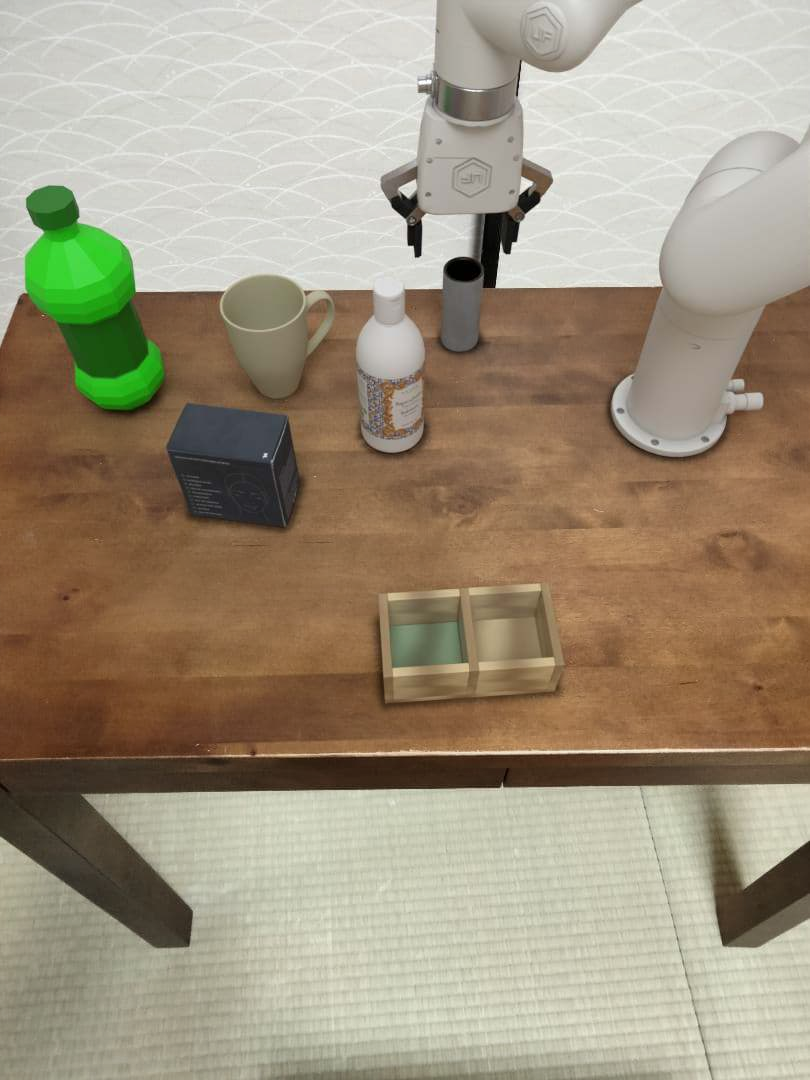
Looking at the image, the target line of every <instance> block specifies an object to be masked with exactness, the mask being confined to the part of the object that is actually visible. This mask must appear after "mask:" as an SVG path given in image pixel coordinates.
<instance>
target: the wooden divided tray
mask: <svg viewBox="0 0 810 1080" xmlns="http://www.w3.org/2000/svg"><path fill="white" fill-rule="evenodd" d="M550 588H551V587H550V583H549V582H541V583H540V582H538V583H522V584H508V585H507V584H506V585H491V586H476V587H463V588H462V587H461V588H447V589H446V588H445V589H433V590H431V589H430V590H416V591H401V592H386V593H382V592H381V593H377V600H378V612H379V614H378V616H379V631H380V646H381V647H380V649H381V662H382V663H381V664H382V665H381V666H382V679H383V693H384V703H385V704H396V703H412V702H425V701H426V702H427V701H437V700H438V701H439V700H441V701H442V700H454V699H467V698H481V697H482V698H483V697H496V696H509V695H510V696H512V695H525V694H527V695H528V694H538V693H540V694H541V693H553V692H556V689H557V686H558V684H559V681H560V679H561V675H562V673H563V670H564V668H565V659H564V655H563V649H562V644H561V643H562V642H561V639H560V634H559V629H558V623H557V618H556V614H555V608H554V603H553V602H554V601H553V599H552V593H551V589H550Z"/></svg>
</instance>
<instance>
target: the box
mask: <svg viewBox="0 0 810 1080" xmlns="http://www.w3.org/2000/svg"><path fill="white" fill-rule="evenodd" d="M289 420H290V419H289V415H287V414H281V413H280V414H279V413H273V412H265V411H256V410H250V409H249V410H248V409H240V408H232V407H226V406H225V407H223V406H216V405H207V404H199V403H192V402H191V403H190V402H186V403H185V405H184V407H183V409H182V410H181V413H180V415H179V417H178V419H177V422H176V424H175V426H174V427H173V430H172V433H171V435H170V436H169V439H168V441H167V443H166V446H165V449H166V452H167V454H168V457H169V460H170V462H171V463H170V464H171V465H172V468H173V471H174V473H175V476H176V479H177V482H178V484H179V487H180V489H181V492H182V494H183V498H184V501H185V503H186V506H187V508H188V512H189V513H190V516H194V517H195V516H196V517H204V518H212V519H221V520H226V521H227V520H229V521H234V522H240V523H241V522H242V523H247V524H256V525H263V526H271V527H277V528H286V527H287V525H288V523H289V519H290V518H291V515H292V512H293V508H294V505H295V503H296V499H297V496H298V492H299V487H300V484H301V479H300V474H299V469H298V463H297V459H296V453H295V448H294V442H293V439H292V438H293V436H292V431H291V424H290V421H289Z"/></svg>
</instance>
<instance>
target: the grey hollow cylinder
mask: <svg viewBox="0 0 810 1080" xmlns="http://www.w3.org/2000/svg"><path fill="white" fill-rule="evenodd" d="M442 268H443V270H442V291H441V315H440V319H441V320H440V342H441V344H442V346H444V347H445V349H448V350H449V351H453V352H457V353H459V352H460V353H461V352H468V351H470V350H471V349H474V347H475V346H476V345H477V343H478V341H479V332H480V331H479V330H480V320H481V310H482V298H483V288H484V277H485V268H484V266H483V264H482V263H481V262H480V261H479V260H477V259H476V258H473V257H470V256H456V257H453V258H451V259H449V260H448V261H446V263H445V264H444V265H443V267H442Z"/></svg>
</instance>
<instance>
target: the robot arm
mask: <svg viewBox="0 0 810 1080" xmlns="http://www.w3.org/2000/svg"><path fill="white" fill-rule="evenodd" d="M642 1H643V2H644V0H436V11H435V12H436V13H435V34H434V35H435V37H434V61H433V62H432V70H430V72H429V74H425V75H424V76H419V75H418V76H417V80H416V83H417V87H416V88H417V94H425V95H427V98H426V100H425V104H424V108H423V112H422V116H421V121H420V128H419V133H418V141H417V151H416V158H414V159H412V160H411V161H409V162H407V163H404V164H403V165H401V166H399V167H396V168H395V169H393V170H391V171H388V172H387V173H385V174H383V175H382V176H381V177H380V179H379V181H380V188H381V189H380V190H381V191H382V192H383V194H384V196H385V197H386V199H387V201H388V202H389V203H390V206H391V208H392V209H393V210H394V211H395V212H396V213H397V214H398V215H399V216H400V217H402V218H403V219H404V220H405V222H406V243H407V247H413V254H414V258H415V259H418V258H419V259H420V257H422V255H423V252H422V251H423V221H422V218H424V217H425V215H426V214H427V215H433V216H452V215H453V216H454V215H455V216H456V215H457V216H458V215H480V214H481V215H483V214H500V213H501V214H502V218H501V219H502V220H501V227H500V234H499V239H500V244H501V247H502V248H501V249H502V252H503V254H505V255H507V256H508V255H511V253H512V248H513V243H517V242H518V238H519V233H520V232H519V231H520V224H521V222H523V221H524V220H525V218H526V215H527V214H528V213H529V212H530V211H531V210H533V209H534V208H535V207H537V206H538V205H539V204H541V200H542V198H543V196H545V195H546V193H547V191H548V190H549V189H550V187H551V186H552V185H553V183H554V178H553V175H552V172H551V170H550V169H547V168H545V167H543V166H541V165H539V164H537V163H535V162H533V161H531V160H529V159H527V158H525V157H524V136H525V135H524V133H525V131H524V129H525V128H524V127H525V126H524V110H523V106H522V104H521V102H520V99H519V97H518V96H517V86H518V78H519V69H520V64H521V61H522V62H524V63H525V64H528V65H529V66H531V67H533V68H534V69H535V68H536V69H538V70H541V71H543V72H547V73H558V74H559V73H565V72H568V71H571V70H574V69H575V68H578V66H580V65H581V64H582V63H584V62H585V61H586V60H587V59H588V58H589V57H590V56H591V54H593V52H594V51H595V50H596V48H597V47H598V46H599V45H600V43H601V42H602V41H603V40H604V38H605V37H606V36H607V35H608V33H609V32H610V31H611V30H612V29H613V27H614V26H615V25H616V24H617V23H618V21H619V20H620V19H621V18H622V16H623V15H624V14H625V13H626V12H627V11H628V10H629V9H631V8H633V7H634V6H636V5H638V4H639V3H641V2H642ZM522 178H524V179H526V180H528V181H530V182H532V184H531V185H530V186H528V187H527V188H526V189H524V190H523V191H522V192H521V184H522V183H521V182H522ZM413 181H415V183H416V189H415V190H414V191H413V193H411V195H410V196H409V197H407V196H406V195H405V194H404V193H403V192H402V191H400V190H399V189H400V188H401V187H403V186H404V185H407V184H409V183H411V182H413ZM520 192H521V193H520ZM687 194H688V195H687V196H686V198H685V199H684V202H683V204H682V206H681V207H680V209H679V211H678V213H677V214H676V215H675V218H674V219H673V221H672V223H671V225H670V227H669V229H668V230H667V233H666V235H665V237H664V239H663V243H662V245H661V249H660V252H659V259H658V273H659V278H660V282H661V285H662V288H661V291H660V293H659V296H658V298H657V302H656V306H655V308H654V311H653V315H652V318H651V321H650V324H649V327H648V331H647V334H646V337H645V340H644V343H643V346H642V349H641V351H640V356H639V358H638V361H637V364H636V368H635V371H634V372H633V373H632V374H630V375H628V376H626V377H625V378H624V379H622V380H621V381H620V382H619V383H618V385H617V387H616V388H615V389H614V392H613V394H612V398H611V401H610V415H611V419H612V421H613V423H614V425H615V427H616V429H617V430H618V431H619V432H620V434H621V435H622V436H623V437H624V438H625V439H627V441H629V442H630V443H631V444H633V445H634V446H636V447H638V448H640V449H642V450H644V451H646V452H648V453H651V454H655V455H658V456H661V457H662V456H663V457H669V458H684V457H692V456H695V455H699V454H701V453H704V452H706V451H707V450H709V449H710V448H712V447H713V446H714V445H716V443H717V442H718V441H719V439H720V438H721V437H722V435H723V433H724V430H725V428H726V424H727V415H733V414H734V412H735V411H743V412H746V411H747V412H748V411H760V410H762V408H763V406H764V395H763V393H762V392H744V393H740V394H739V393H738V394H735V393H736V392H743V391H744V390H745V385H746V384H745V380H744V379H743V378H737V379H735V378H734V379H733V376H734V373H735V371H736V370H737V367H738V365H739V362H740V360H741V358H742V356H743V354H744V352H745V350H746V348H747V345H748V343H749V341H750V339H751V337H752V334H753V332H754V330H755V328H756V326H757V324H758V323H759V320H760V319H761V316H762V314H763V312H764V310H765V307H766V306H767V305H769V304H771V303H773V302H776V301H778V300H781V299H783V298H785V297H788V296H790V295H792V294H794V293H796V292H799V291H802V290H804V289H805V288H808V287H810V124H809V125H808V126H807V129H806V131H805V133H804V135H803V137H802V139H801V141H800V142H798V141H797V140H796V139H794V138H793V137H792V136H789V135H787V134H785V133H782V132H779V131H773V130H757V131H753V132H748V133H745V134H743V135H740V136H738V137H736V138H734V139H732V140H731V141H730V142H727V143H725V145H724V146H722V147H721V148H720V149H719V150H718V151H717V152H716V153H715V154H714V155H713V156H712V157H711V158H710V160H708V162H707V163H706V164H705V166H704V167H703V169H702V170H701V172H700V174H699V175H698V177H697V179H696V181H695V182H694V184H693V185H692V187H691V189H690V190H689V192H688V193H687Z"/></svg>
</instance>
